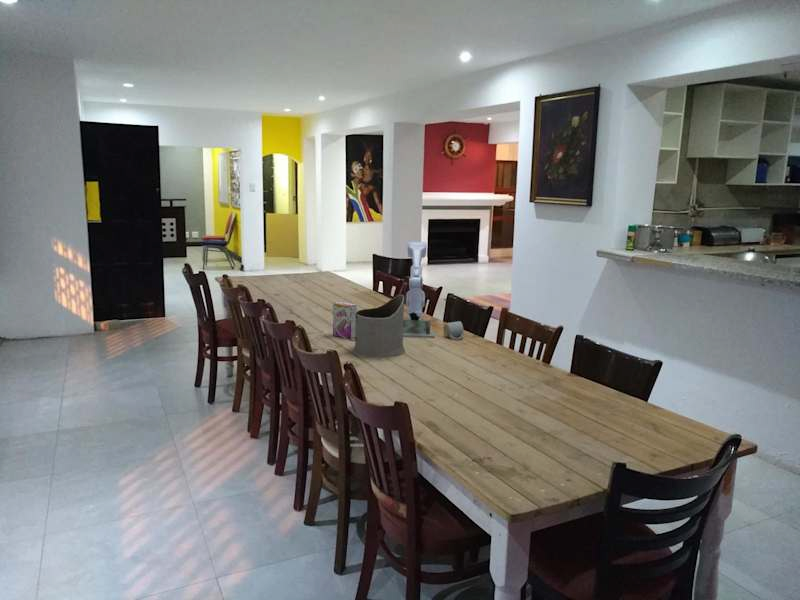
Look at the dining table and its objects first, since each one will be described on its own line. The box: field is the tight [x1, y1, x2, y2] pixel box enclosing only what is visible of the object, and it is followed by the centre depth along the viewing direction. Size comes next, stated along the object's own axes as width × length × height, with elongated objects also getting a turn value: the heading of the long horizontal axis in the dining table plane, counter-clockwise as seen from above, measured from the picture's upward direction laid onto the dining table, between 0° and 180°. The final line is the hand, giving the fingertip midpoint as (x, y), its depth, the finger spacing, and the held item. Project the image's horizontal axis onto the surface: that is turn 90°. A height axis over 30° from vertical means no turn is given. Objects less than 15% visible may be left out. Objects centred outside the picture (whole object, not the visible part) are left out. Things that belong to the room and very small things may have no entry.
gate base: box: [403, 321, 435, 339], centre depth 301 cm, size 8×20×7 cm, turn 89°
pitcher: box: [334, 294, 406, 359], centre depth 269 cm, size 23×32×25 cm
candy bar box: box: [332, 301, 358, 340], centre depth 295 cm, size 11×5×16 cm, turn 58°
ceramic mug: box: [443, 321, 464, 341], centre depth 299 cm, size 11×8×8 cm
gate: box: [403, 319, 431, 332], centre depth 303 cm, size 14×1×6 cm, turn 88°
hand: (414, 327), depth 305 cm, fingers closed, pressing on gate
